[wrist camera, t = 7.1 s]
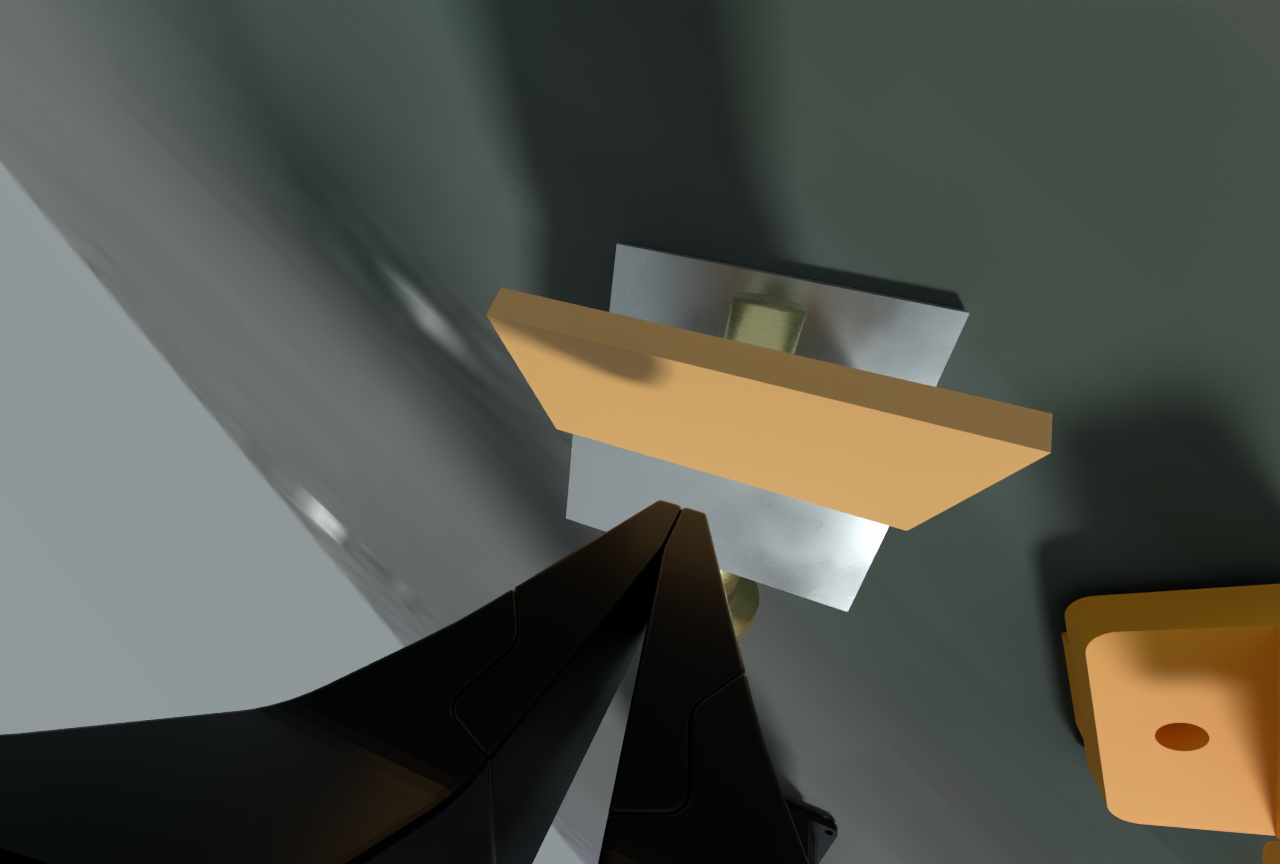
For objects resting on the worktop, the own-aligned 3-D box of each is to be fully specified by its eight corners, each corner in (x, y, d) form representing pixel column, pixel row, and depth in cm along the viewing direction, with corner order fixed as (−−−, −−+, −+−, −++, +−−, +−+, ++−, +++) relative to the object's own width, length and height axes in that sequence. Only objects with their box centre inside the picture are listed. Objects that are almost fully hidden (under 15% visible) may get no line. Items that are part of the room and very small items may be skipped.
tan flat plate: (908, 500, 14) (902, 539, 13) (571, 406, 16) (557, 437, 16) (1067, 393, 8) (1066, 456, 8) (501, 268, 10) (477, 312, 10)
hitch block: (865, 529, 22) (882, 654, 16) (598, 450, 25) (528, 532, 19) (965, 309, 17) (1041, 371, 11) (621, 242, 20) (538, 263, 14)
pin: (759, 576, 24) (745, 671, 19) (652, 541, 25) (612, 622, 21) (853, 303, 18) (866, 344, 13) (703, 273, 19) (664, 300, 14)
